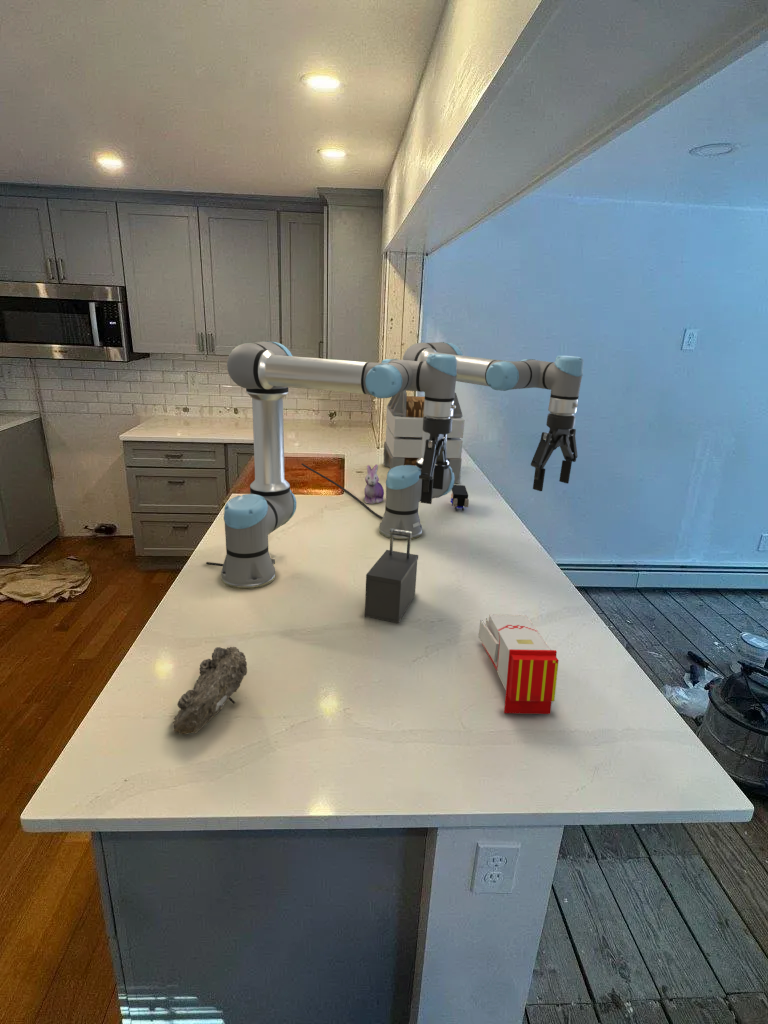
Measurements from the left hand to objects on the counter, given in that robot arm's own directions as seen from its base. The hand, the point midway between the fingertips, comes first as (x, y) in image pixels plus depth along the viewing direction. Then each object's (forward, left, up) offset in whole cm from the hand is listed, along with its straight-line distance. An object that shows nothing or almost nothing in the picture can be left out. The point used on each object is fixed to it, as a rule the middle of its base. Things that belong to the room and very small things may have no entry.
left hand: (432, 495), depth 152 cm
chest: (-6, -13, -28) cm, 31 cm away
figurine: (-39, +67, -28) cm, 82 cm away
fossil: (-27, -63, -28) cm, 74 cm away
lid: (-6, -13, -17) cm, 22 cm away
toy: (+28, -32, -28) cm, 51 cm away
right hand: (+30, +24, 0) cm, 38 cm away
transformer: (-32, +116, -28) cm, 124 cm away
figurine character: (-5, +74, -28) cm, 80 cm away
